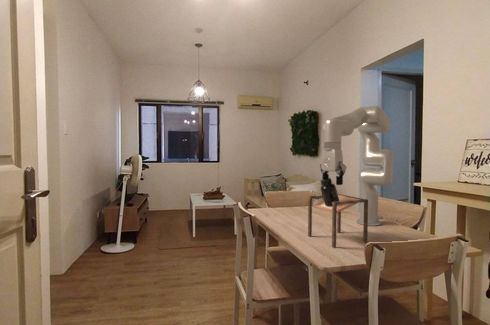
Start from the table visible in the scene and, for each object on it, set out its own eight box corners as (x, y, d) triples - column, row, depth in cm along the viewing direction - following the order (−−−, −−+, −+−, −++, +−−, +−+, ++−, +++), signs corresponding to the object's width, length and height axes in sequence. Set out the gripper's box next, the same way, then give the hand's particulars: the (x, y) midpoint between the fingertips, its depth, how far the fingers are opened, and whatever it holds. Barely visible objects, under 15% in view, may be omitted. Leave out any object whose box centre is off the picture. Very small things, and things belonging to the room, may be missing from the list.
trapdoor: (339, 196, 147) (338, 194, 147) (361, 201, 133) (361, 198, 133) (314, 207, 141) (313, 205, 141) (335, 213, 128) (334, 211, 127)
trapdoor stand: (338, 232, 150) (339, 194, 149) (367, 242, 133) (368, 199, 132) (308, 236, 143) (308, 196, 142) (333, 247, 126) (334, 202, 125)
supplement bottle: (337, 199, 139) (330, 176, 138) (342, 203, 133) (335, 178, 131) (323, 204, 140) (316, 180, 138) (327, 208, 133) (320, 183, 131)
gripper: (314, 146, 142) (314, 182, 142) (339, 146, 126) (338, 186, 126) (327, 146, 145) (326, 181, 145) (352, 146, 129) (352, 185, 129)
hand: (332, 183), depth 136 cm, fingers open, 9 cm apart
